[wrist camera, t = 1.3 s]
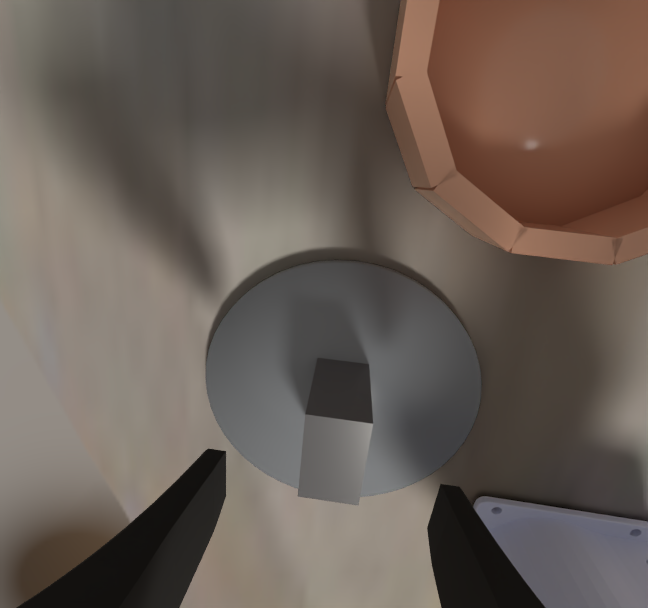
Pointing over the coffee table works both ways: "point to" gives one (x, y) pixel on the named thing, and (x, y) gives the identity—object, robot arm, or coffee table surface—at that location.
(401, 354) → the lid
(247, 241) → the coffee table surface
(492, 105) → the bowl
